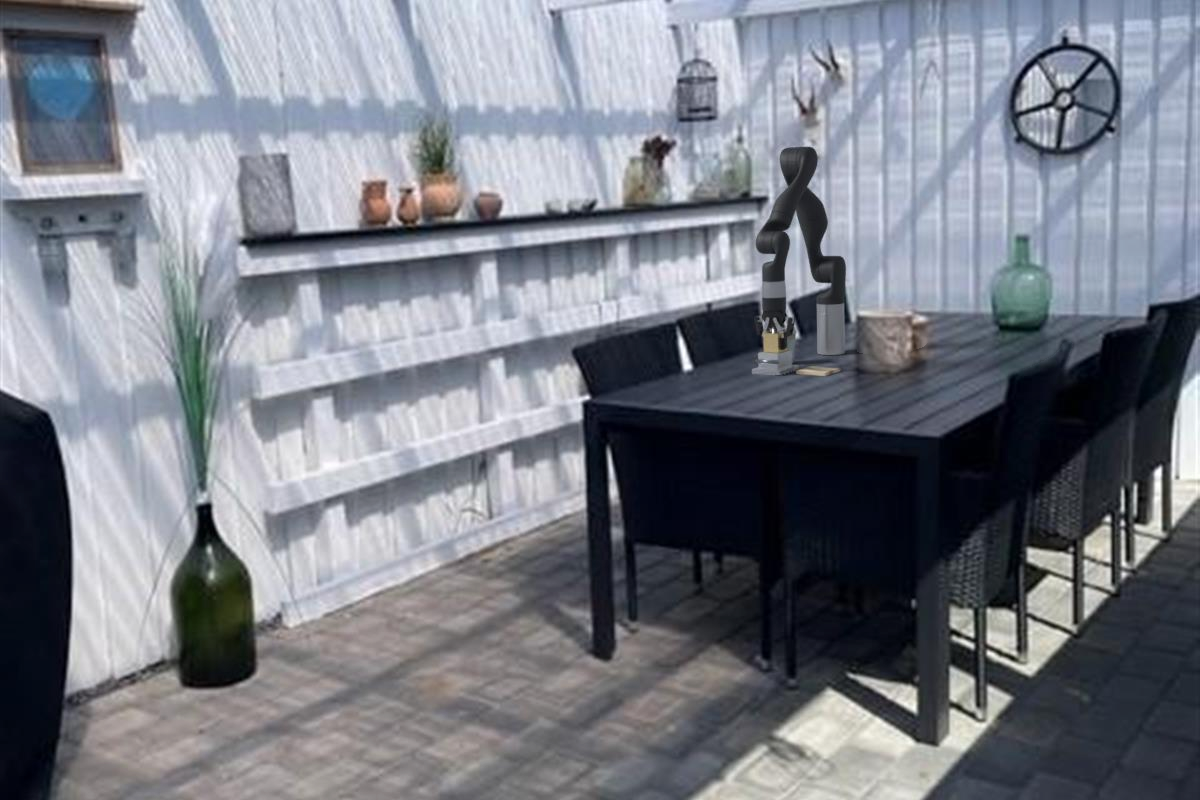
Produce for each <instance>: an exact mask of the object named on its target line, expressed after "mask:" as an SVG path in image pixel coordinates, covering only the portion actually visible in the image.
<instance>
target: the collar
mask: <svg viewBox="0 0 1200 800" xmlns="http://www.w3.org/2000/svg"><path fill="white" fill-rule="evenodd" d="M763 338H764V346H763V352H771V353H780V352H783V351H787V348H786V349H785V350H781V344H780V338H781V337H780V333H779V332H778V333H771V331H770V332H767V333H763V337H762V339H763Z"/></svg>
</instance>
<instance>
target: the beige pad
mask: <svg viewBox="0 0 1200 800" xmlns="http://www.w3.org/2000/svg"><path fill="white" fill-rule="evenodd" d="M838 372H841V367H830V366H817V365H816V366H815V365H814V366H813V365H812V366H807V367H805V368H800V369H799V370H797V371H795V373H796V375H805V376H817V377H818V376H819V377H820V376H821V377H826V376H829V375H833V374H836V373H838Z"/></svg>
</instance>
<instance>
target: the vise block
mask: <svg viewBox="0 0 1200 800" xmlns="http://www.w3.org/2000/svg"><path fill="white" fill-rule="evenodd" d="M771 333H778V331H777V328H774V327H772V328H771ZM754 363H757V365H758V367H754V368H751V374H752V375H761V376H762V375H763V376H775V375H781V376H783V375H782V374H784V375H787V374H786V373H788V374H790V373H789V372H791V373H793V372H792V371H794V372H796V370H800V368H799V367H800V366H799V364H798V365H797V364H796V365H795V364H792V350H787V351H783V352H780V353H771V352H764V351H760V352H757V359H755V360H754Z"/></svg>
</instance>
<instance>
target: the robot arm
mask: <svg viewBox="0 0 1200 800" xmlns="http://www.w3.org/2000/svg"><path fill="white" fill-rule="evenodd" d="M818 159H819V158H818V153H817V151H816V149H815V148H814V147H812V146H790V147H786V148H783V149H782V150H781V152H780V154H779V165H780V170H781V173H782V176H783V178H784V181H785V183H786V185H787V188H785V189H784V190H783V191H782V192H781V193H780V195H779V196H778V197H777V198H776V200H775V201H774V203H773V206H772V209H771V211H770V214H769V217H768V219H767V220H766V222H765V223H764V225H763V226H762V227H761V229H760V230H759V232H758V233H757V236H756V237H755V248H756V250H757V251H758V253H760V254H761V255H775V257H774V259H773V260H771V261H767V262H766V261H765V262H764V263H763V264H762V266H761V267H762V268H761V273H762V274H761V275H762V276H761V279H762V280H761V281H762V284H761V309H762V314H761V315H756V316H754V317H753V321H754V325H755V331H756V334H757V336H761V337H762V347H764V338H763V333H767V332H770V331H771V328H772V327H774V328H777V331H778V332H779V333H780V337H781V338H780V344H781V350H785V349H786V348H787V337H788V336H791V335H793V330H794V327H795V323H796V317H795V316H788V315H787V287H786V272H785V271H786V264H787V258H788V255H789V251H790V246H791V240H790V239H791V238H790V236H789V234H788V233H787V232H786V231H787V230H788V229H790V228H791V225H792V222H793V219H794V216H795V213H796V216H797V220H798V224H799V227H800V230H801V234H802V237H803V240H804V245H805V248H806V253H807V258H808V263H809V264H808V265H809V268H810V273H811V277H812V279H813V280H814V281H815V282H816V283H818V284H830V288H829V289H828V290H826V291H825V292H822V293H820V294H818V295H817V296H816V345H817V347H816V350H817V351H816V352H817V354H818V355H821V356H822V355H823V356H835V355H844V354H845V353H846V325H845V296H846V278H847V266H846V260H845V259H844V256H842V255H823V253H822V249H821V243H822V241H823V238H824V236H825V234H826V231H827V229H828V225H829V221H828V216H827V212H826V208H825V206H824V204H823V202H822V200H821V199H820V198H819V197H818V196H817V194H816V193H814V192H813V191H812V190H811V189H810V188H809V187H808V186H809V184H810V182H811V181H812V178H813V177H814V175H815V172H816V170H817V167H818V162H819V160H818ZM763 322H764V324H763ZM785 322H786V324H785ZM786 326H787V329H786Z"/></svg>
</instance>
